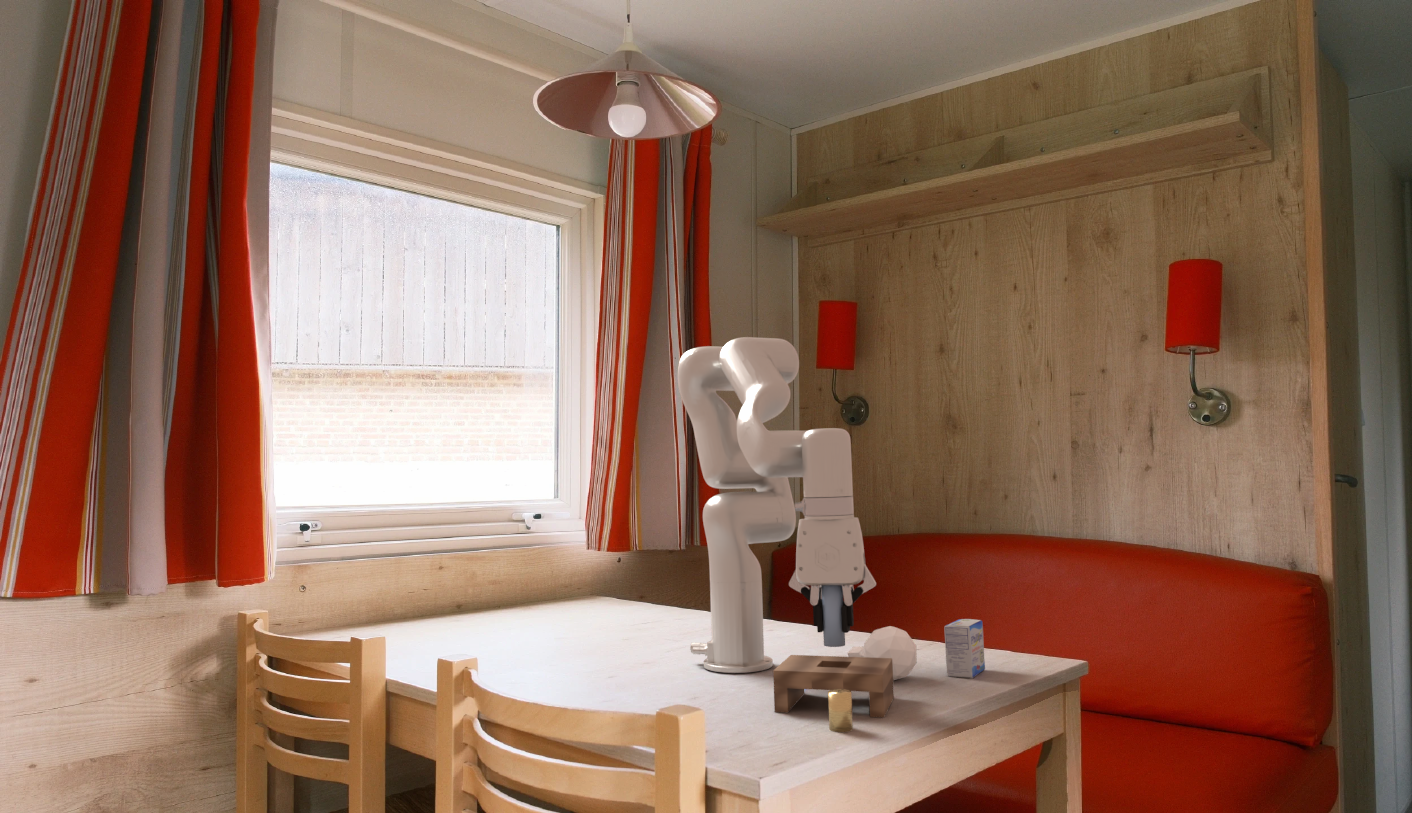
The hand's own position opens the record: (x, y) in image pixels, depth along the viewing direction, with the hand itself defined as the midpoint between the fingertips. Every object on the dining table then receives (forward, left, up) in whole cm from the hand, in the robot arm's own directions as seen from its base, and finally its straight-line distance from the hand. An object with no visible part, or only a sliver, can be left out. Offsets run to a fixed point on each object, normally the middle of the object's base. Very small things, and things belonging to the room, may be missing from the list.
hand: (833, 629), depth 142 cm
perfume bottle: (+5, +20, -11) cm, 24 cm away
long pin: (0, 0, -2) cm, 2 cm away
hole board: (0, 0, -11) cm, 11 cm away
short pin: (+3, -13, -11) cm, 17 cm away
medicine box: (+18, +26, -11) cm, 34 cm away
